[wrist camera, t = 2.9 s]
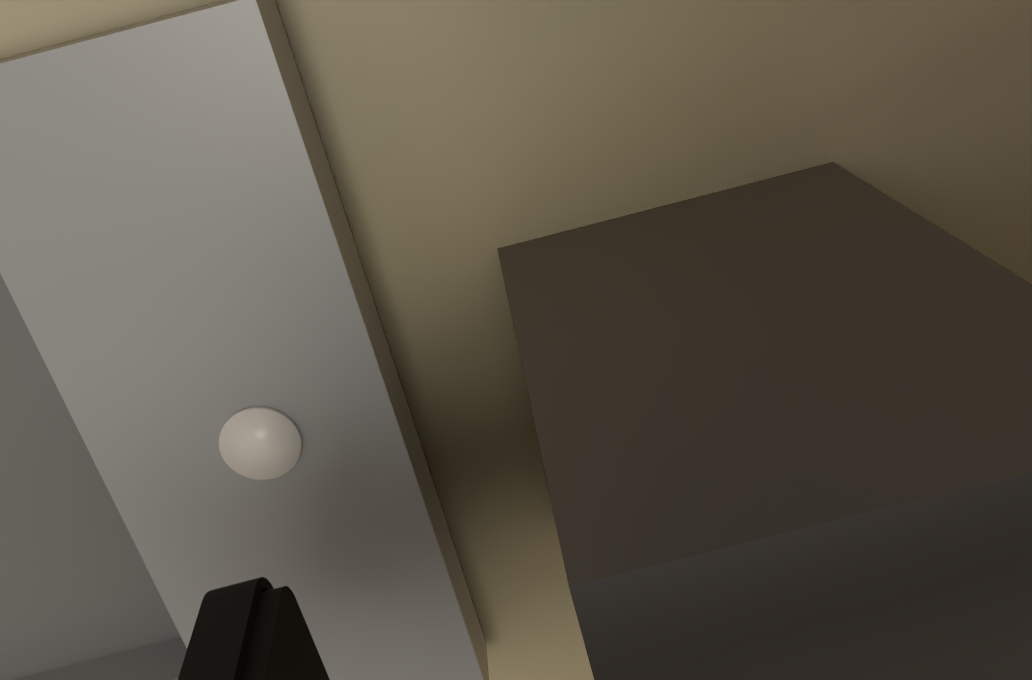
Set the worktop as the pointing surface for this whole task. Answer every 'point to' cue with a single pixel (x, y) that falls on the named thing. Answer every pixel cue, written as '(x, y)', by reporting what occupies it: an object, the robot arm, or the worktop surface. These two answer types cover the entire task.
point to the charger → (784, 437)
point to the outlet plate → (199, 370)
